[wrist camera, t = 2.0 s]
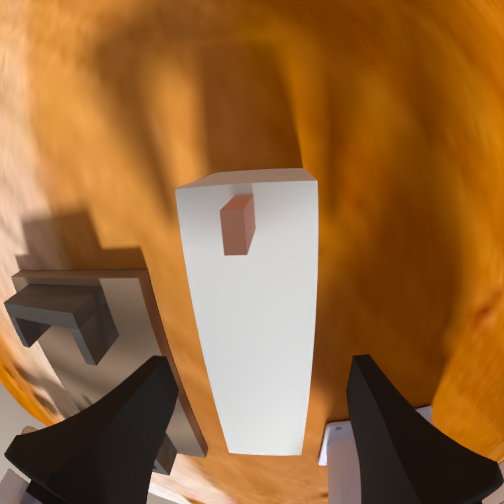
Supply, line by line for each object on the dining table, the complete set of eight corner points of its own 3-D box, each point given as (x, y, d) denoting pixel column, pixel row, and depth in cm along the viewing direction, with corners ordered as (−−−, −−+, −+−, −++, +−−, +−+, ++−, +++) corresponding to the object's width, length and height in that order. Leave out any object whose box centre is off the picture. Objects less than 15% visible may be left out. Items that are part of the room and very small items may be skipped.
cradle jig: (20, 270, 16) (-14, 293, 13) (147, 268, 15) (109, 307, 11) (99, 423, 23) (85, 450, 19) (208, 448, 21) (199, 483, 18)
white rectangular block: (216, 172, 13) (141, 203, 6) (304, 167, 12) (331, 192, 5) (241, 387, 18) (223, 481, 11) (300, 388, 17) (301, 485, 10)
